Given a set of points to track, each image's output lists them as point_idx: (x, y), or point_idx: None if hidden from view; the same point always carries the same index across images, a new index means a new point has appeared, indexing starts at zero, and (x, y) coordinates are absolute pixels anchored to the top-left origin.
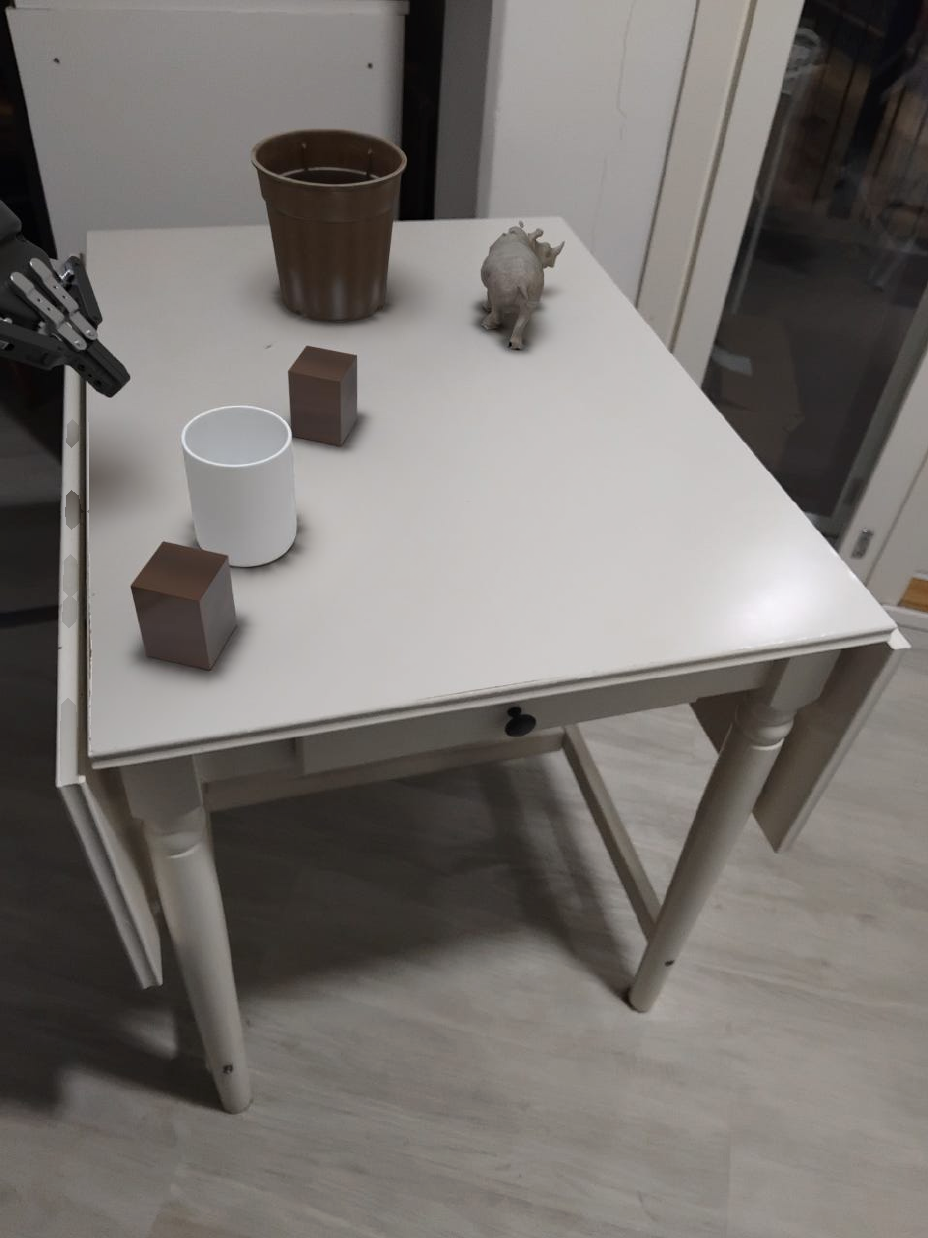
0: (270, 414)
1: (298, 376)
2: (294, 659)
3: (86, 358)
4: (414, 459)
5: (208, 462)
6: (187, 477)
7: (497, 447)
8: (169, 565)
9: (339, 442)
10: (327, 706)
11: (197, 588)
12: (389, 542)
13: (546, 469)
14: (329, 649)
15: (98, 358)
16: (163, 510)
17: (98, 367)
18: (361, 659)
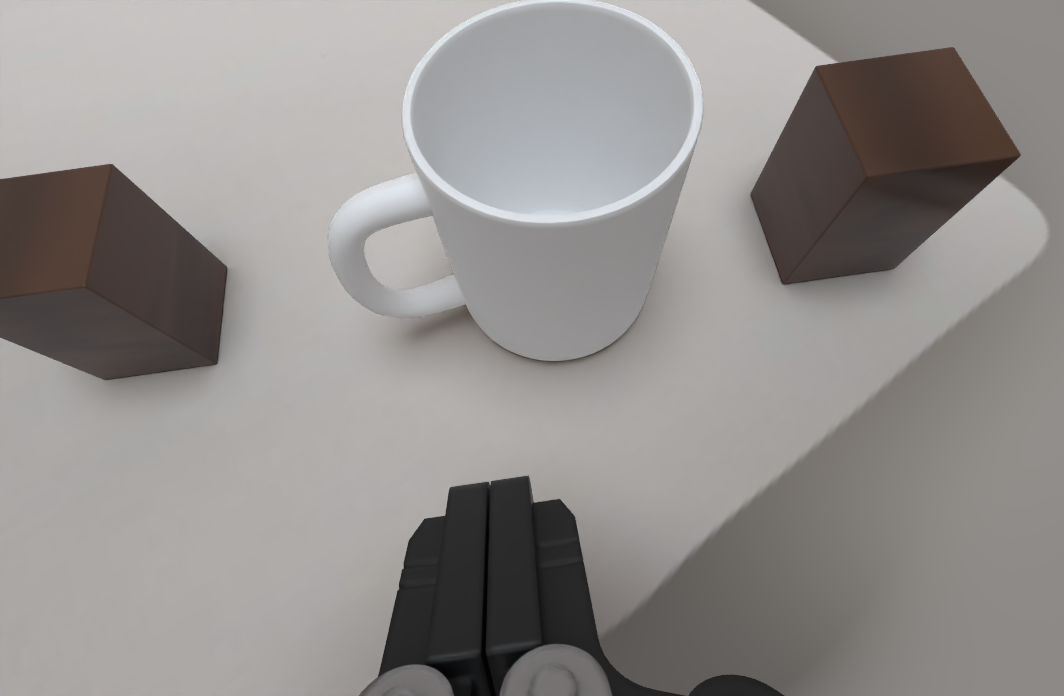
0: (419, 83)
1: (99, 265)
2: (759, 105)
3: (564, 634)
4: (233, 152)
5: (699, 92)
6: (651, 245)
7: (163, 68)
8: (918, 129)
9: (222, 264)
10: (804, 44)
11: (930, 62)
12: None
13: (207, 3)
14: (715, 79)
15: (523, 578)
16: (558, 462)
17: (546, 571)
18: (707, 45)
